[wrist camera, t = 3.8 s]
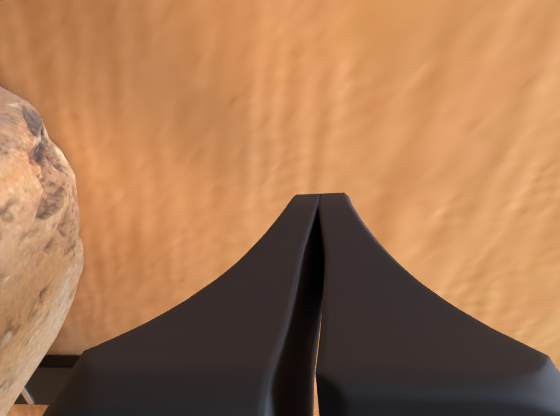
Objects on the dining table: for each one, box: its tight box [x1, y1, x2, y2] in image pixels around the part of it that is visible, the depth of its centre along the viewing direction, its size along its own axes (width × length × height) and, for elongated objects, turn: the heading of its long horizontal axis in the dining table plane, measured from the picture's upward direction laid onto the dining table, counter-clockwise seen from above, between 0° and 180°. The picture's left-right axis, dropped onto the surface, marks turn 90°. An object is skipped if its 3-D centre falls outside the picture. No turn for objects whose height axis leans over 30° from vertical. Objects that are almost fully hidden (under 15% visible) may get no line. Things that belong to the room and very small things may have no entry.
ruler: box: [14, 355, 81, 405], centre depth 18 cm, size 2×20×1 cm, turn 96°
